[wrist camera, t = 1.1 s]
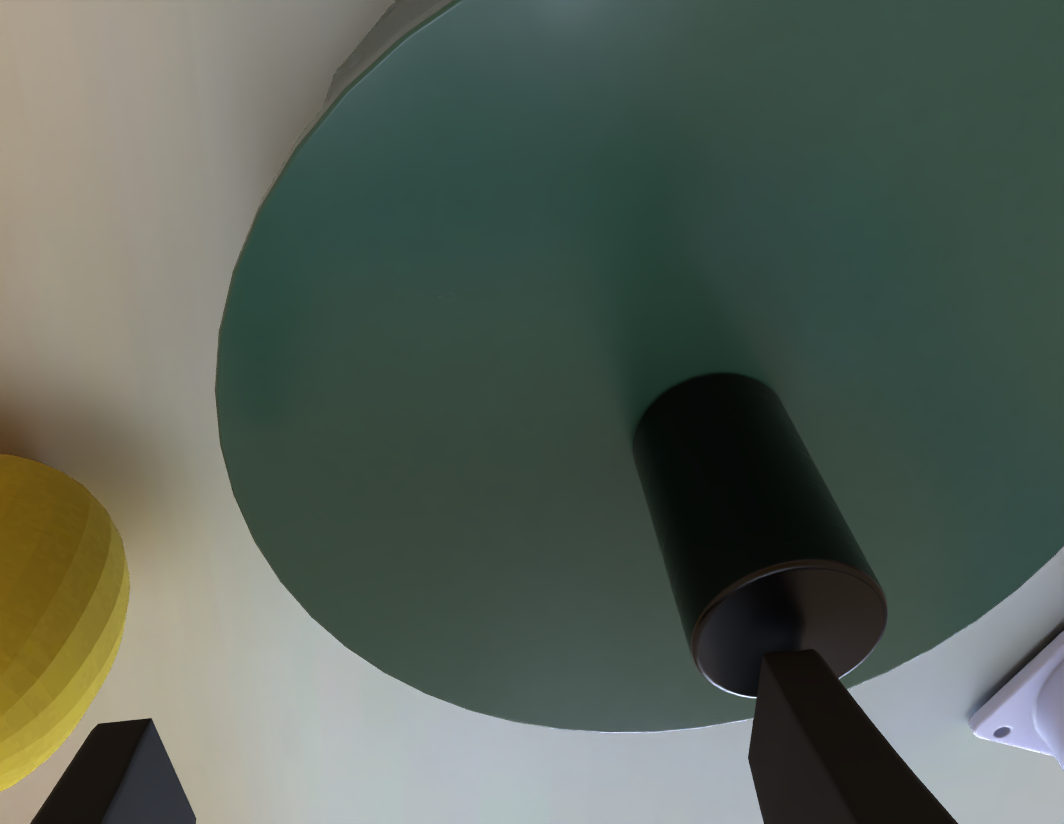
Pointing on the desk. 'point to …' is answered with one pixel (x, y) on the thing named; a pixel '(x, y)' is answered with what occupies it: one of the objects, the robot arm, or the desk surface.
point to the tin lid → (659, 347)
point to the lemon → (53, 609)
